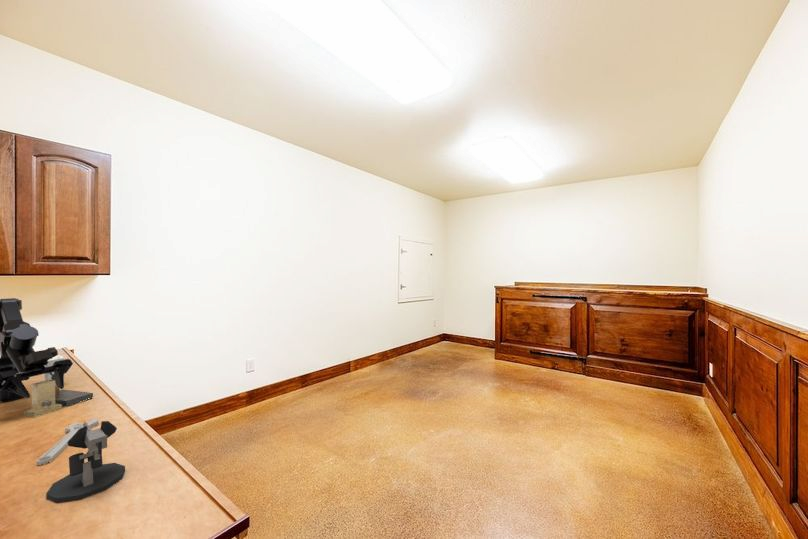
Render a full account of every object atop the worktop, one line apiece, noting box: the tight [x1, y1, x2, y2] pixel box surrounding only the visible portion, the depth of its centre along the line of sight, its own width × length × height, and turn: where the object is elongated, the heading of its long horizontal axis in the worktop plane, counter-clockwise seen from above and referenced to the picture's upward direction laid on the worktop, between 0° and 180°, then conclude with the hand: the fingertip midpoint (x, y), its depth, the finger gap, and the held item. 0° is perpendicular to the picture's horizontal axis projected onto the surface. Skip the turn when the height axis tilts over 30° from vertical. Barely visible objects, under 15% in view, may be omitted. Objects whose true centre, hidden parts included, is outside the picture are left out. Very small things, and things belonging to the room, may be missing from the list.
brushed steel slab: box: [55, 384, 94, 407], centre depth 123 cm, size 16×8×5 cm, turn 74°
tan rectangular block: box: [23, 380, 63, 418], centre depth 113 cm, size 5×7×10 cm
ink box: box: [44, 354, 65, 381], centre depth 139 cm, size 9×5×12 cm, turn 52°
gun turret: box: [45, 420, 126, 504], centre depth 76 cm, size 13×20×13 cm, turn 50°
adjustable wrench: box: [36, 417, 99, 466], centre depth 92 cm, size 25×6×2 cm, turn 20°
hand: (46, 392), depth 112 cm, fingers open, 8 cm apart
